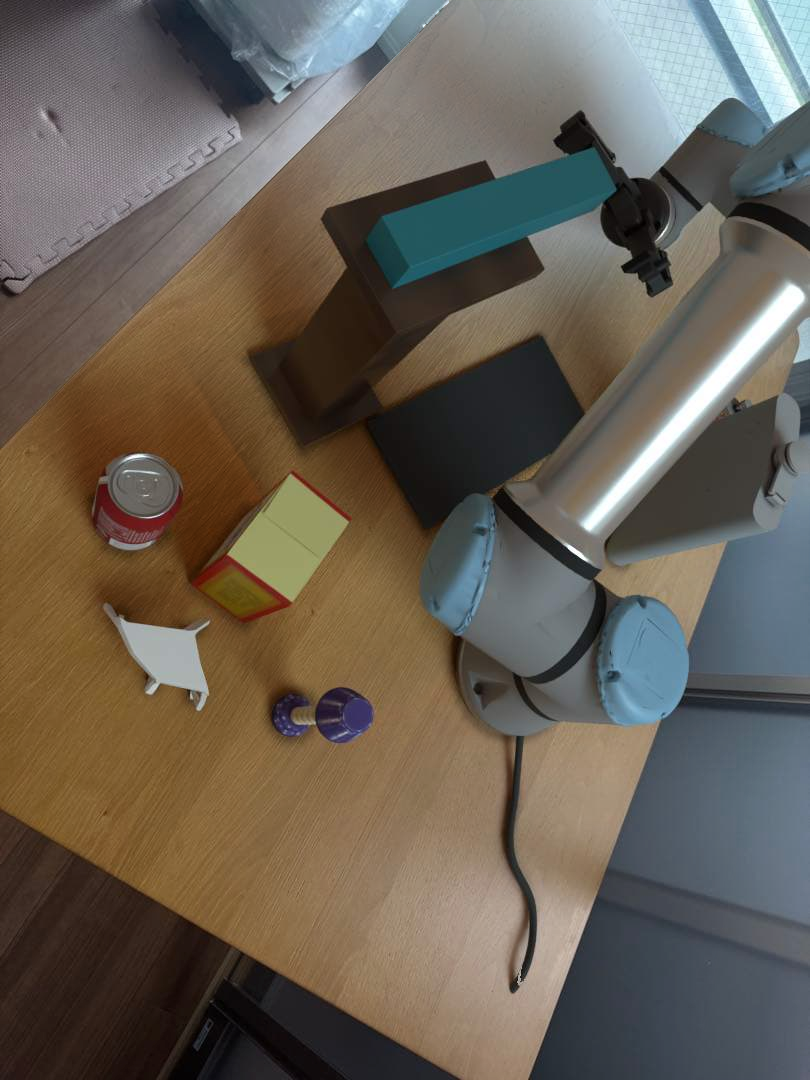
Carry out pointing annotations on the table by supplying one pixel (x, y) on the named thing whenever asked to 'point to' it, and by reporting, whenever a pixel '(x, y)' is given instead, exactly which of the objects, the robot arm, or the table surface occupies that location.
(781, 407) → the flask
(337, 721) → the toy lamp
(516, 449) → the mat
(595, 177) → the block
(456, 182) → the stand
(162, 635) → the white flat legged piece
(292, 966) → the table surface
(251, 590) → the baking soda box
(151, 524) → the soda can
